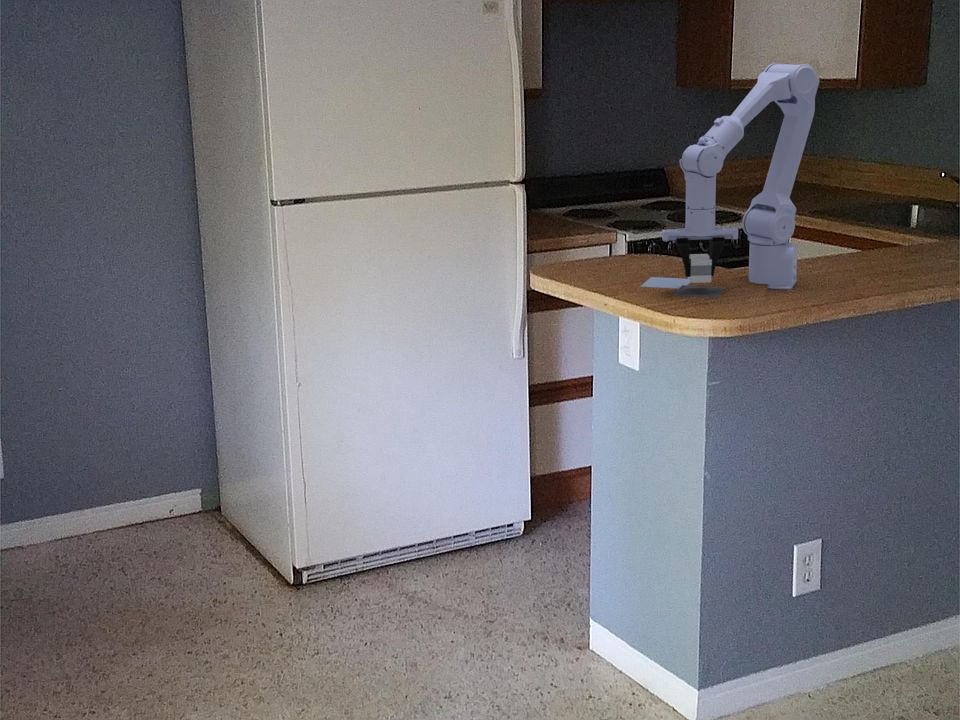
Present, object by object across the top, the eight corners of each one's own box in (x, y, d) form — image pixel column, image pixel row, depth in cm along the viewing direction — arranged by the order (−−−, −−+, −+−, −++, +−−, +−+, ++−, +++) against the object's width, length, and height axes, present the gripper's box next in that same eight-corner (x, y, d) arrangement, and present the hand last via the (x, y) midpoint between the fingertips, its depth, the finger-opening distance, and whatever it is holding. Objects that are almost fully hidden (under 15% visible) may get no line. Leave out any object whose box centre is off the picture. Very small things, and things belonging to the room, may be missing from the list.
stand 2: (726, 291, 242) (726, 287, 242) (717, 301, 234) (717, 297, 234) (682, 289, 245) (682, 285, 245) (671, 299, 237) (671, 295, 237)
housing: (711, 282, 236) (711, 259, 235) (690, 282, 236) (691, 260, 235) (707, 275, 242) (707, 253, 240) (687, 276, 242) (687, 254, 241)
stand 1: (693, 282, 250) (693, 279, 250) (683, 292, 242) (683, 288, 242) (651, 280, 254) (651, 276, 253) (640, 290, 246) (640, 286, 245)
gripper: (734, 203, 238) (733, 270, 242) (661, 205, 239) (660, 272, 243) (740, 208, 231) (738, 278, 235) (664, 210, 232) (663, 279, 236)
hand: (699, 275), depth 239 cm, fingers closed on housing, 4 cm apart
